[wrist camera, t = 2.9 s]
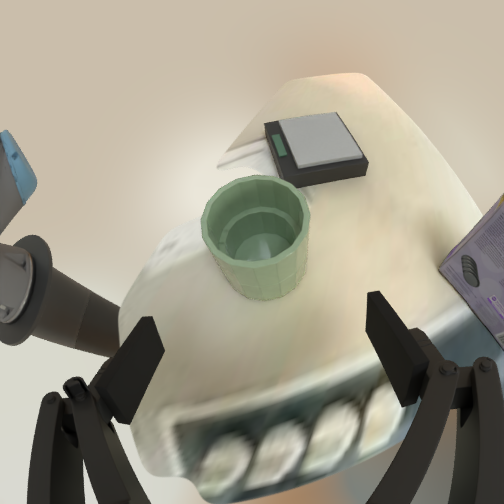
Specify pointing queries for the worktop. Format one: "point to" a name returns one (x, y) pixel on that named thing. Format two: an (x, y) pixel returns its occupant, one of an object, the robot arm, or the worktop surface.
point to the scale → (314, 150)
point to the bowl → (258, 235)
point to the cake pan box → (481, 269)
